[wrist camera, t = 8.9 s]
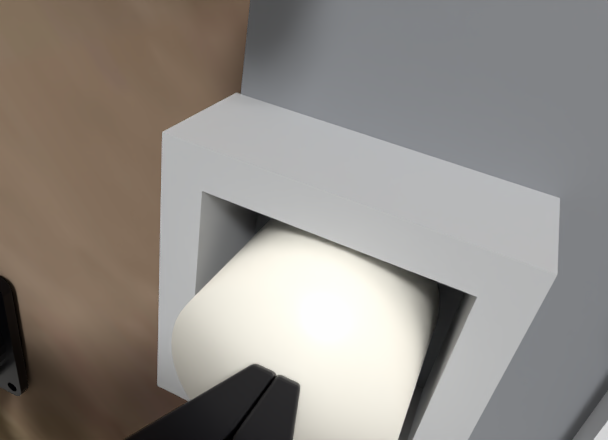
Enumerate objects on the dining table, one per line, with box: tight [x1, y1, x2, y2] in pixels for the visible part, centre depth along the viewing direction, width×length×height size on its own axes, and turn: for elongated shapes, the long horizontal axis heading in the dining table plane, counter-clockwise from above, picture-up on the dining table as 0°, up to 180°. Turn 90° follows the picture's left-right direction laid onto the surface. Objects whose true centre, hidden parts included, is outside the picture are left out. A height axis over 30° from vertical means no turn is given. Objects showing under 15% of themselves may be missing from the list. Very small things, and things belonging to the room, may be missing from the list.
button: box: [171, 218, 440, 440], centre depth 10 cm, size 4×4×3 cm
